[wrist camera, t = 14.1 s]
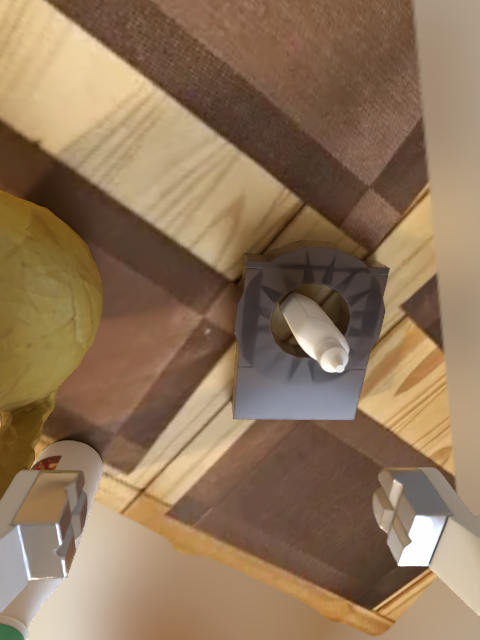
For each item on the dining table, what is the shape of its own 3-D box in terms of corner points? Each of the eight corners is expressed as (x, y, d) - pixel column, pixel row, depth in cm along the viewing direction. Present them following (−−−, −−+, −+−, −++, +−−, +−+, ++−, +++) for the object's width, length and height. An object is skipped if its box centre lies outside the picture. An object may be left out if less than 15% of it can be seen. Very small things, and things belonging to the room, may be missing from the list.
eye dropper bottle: (314, 281, 39) (357, 328, 28) (329, 326, 41) (374, 386, 30) (275, 297, 39) (303, 350, 28) (292, 341, 42) (324, 405, 31)
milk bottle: (95, 433, 44) (17, 626, 26) (111, 481, 47) (52, 684, 29) (29, 443, 44) (-97, 644, 26) (49, 490, 47) (-50, 701, 29)
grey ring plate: (238, 236, 37) (241, 242, 34) (385, 245, 38) (399, 252, 35) (226, 403, 44) (227, 419, 41) (350, 404, 46) (359, 420, 43)
